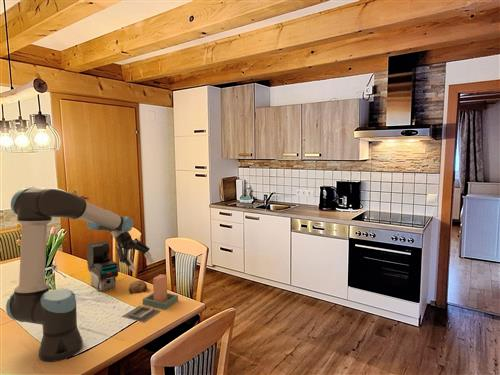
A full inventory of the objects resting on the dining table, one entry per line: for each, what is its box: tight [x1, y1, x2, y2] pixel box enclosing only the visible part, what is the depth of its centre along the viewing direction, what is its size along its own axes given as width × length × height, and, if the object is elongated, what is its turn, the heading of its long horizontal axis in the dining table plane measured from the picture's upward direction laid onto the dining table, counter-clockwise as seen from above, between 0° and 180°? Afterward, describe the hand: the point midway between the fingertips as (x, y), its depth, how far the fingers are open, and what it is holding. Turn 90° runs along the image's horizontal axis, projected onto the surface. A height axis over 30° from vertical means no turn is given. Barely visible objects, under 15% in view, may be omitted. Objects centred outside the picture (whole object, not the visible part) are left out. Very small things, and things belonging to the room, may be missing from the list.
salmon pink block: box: [152, 274, 168, 303], centre depth 166 cm, size 6×4×14 cm, turn 157°
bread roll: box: [128, 279, 148, 295], centre depth 183 cm, size 10×10×8 cm
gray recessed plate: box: [120, 305, 162, 324], centre depth 155 cm, size 12×14×3 cm
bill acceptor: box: [86, 240, 119, 292], centre depth 188 cm, size 10×23×25 cm, turn 44°
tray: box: [142, 292, 179, 311], centre depth 167 cm, size 11×14×4 cm
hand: (143, 266), depth 169 cm, fingers open, 13 cm apart
